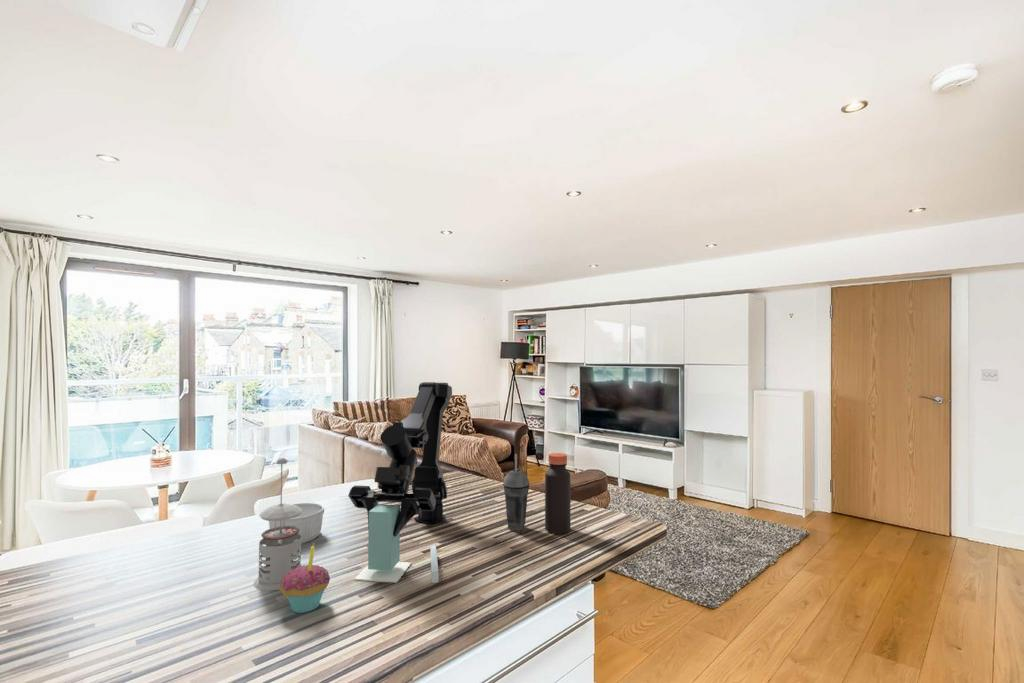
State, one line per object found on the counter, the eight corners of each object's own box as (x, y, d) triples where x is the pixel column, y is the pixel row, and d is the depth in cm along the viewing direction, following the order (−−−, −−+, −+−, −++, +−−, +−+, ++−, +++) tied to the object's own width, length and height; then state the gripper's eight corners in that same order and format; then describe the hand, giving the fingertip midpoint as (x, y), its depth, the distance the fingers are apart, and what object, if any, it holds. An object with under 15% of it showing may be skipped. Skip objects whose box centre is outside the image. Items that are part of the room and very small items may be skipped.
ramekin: (254, 543, 119) (255, 514, 120) (296, 525, 132) (297, 500, 132) (295, 551, 114) (295, 521, 115) (335, 532, 127) (335, 505, 127)
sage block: (377, 559, 106) (378, 504, 107) (399, 560, 106) (400, 505, 106) (368, 569, 101) (368, 511, 102) (390, 570, 101) (391, 512, 101)
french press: (252, 595, 93) (255, 464, 94) (253, 571, 103) (255, 454, 104) (307, 584, 98) (309, 460, 98) (303, 562, 108) (304, 450, 109)
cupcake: (339, 601, 91) (340, 536, 91) (302, 623, 83) (303, 553, 84) (306, 591, 95) (307, 529, 95) (268, 612, 87) (269, 544, 87)
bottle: (571, 535, 125) (571, 457, 126) (545, 534, 125) (545, 457, 126) (569, 525, 132) (569, 452, 132) (544, 525, 132) (544, 452, 133)
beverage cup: (530, 524, 133) (530, 451, 134) (528, 533, 126) (528, 456, 127) (504, 523, 134) (504, 450, 135) (501, 532, 127) (501, 456, 127)
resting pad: (372, 561, 108) (372, 560, 108) (411, 564, 107) (411, 562, 107) (354, 580, 99) (354, 578, 99) (396, 582, 98) (396, 581, 98)
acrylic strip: (430, 555, 112) (430, 545, 112) (435, 554, 112) (435, 545, 112) (432, 582, 98) (432, 572, 98) (438, 582, 98) (438, 571, 99)
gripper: (352, 449, 109) (327, 515, 98) (432, 452, 107) (416, 519, 96) (366, 476, 117) (345, 539, 106) (441, 478, 114) (427, 543, 103)
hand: (382, 535), depth 102 cm, fingers open, 5 cm apart
